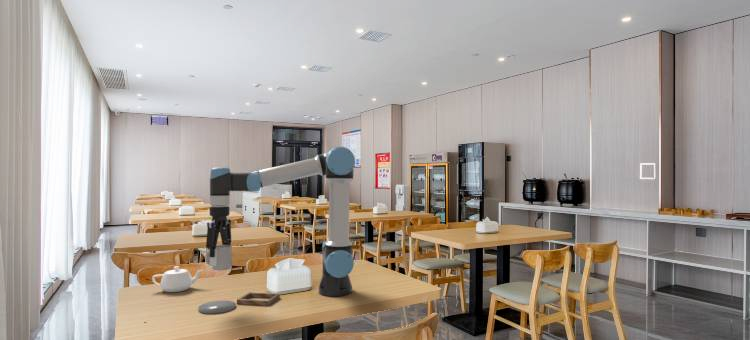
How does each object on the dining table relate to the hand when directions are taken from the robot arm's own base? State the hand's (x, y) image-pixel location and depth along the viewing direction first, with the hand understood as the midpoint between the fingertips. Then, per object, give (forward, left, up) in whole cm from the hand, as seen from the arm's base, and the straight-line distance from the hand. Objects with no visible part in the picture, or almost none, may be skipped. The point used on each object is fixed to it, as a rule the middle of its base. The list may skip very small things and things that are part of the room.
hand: (218, 263), depth 172 cm
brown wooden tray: (-12, -11, -18) cm, 24 cm away
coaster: (0, +1, -18) cm, 18 cm away
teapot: (+33, -21, -18) cm, 43 cm away
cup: (0, 0, -2) cm, 2 cm away
